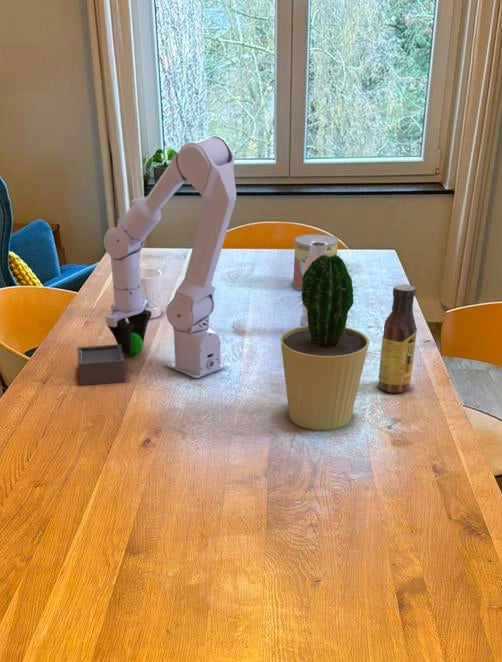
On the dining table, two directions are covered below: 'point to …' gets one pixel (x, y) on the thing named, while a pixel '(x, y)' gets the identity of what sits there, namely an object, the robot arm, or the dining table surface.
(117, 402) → the dining table surface
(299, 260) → the canned food
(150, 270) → the white cup
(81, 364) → the grey box
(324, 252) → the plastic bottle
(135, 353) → the polyhedron
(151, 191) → the robot arm
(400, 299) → the sauce bottle
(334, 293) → the potted cactus
